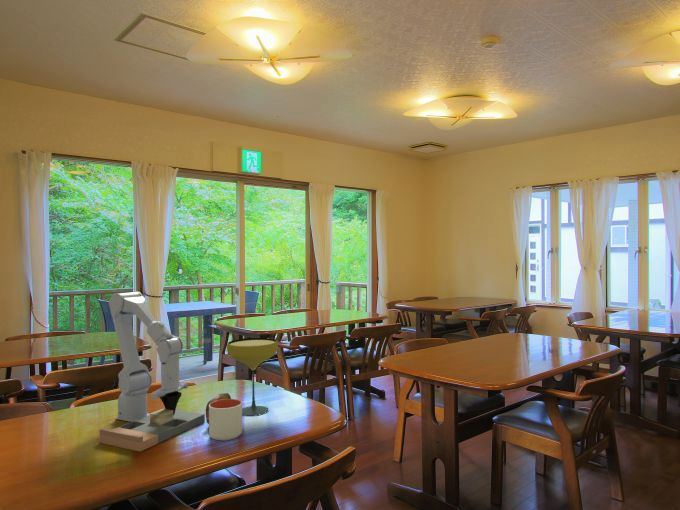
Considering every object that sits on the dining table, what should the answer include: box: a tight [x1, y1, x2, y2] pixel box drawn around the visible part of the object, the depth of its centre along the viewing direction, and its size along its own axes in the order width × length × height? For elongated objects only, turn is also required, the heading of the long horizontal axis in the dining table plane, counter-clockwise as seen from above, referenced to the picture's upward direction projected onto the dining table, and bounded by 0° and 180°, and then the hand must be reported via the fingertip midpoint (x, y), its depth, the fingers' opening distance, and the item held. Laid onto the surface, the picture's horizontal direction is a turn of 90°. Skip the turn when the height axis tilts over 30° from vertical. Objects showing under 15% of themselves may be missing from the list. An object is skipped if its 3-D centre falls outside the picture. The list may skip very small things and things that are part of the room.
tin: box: [205, 392, 232, 425], centre depth 160 cm, size 15×3×8 cm, turn 168°
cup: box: [208, 398, 243, 442], centre depth 146 cm, size 10×10×10 cm
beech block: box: [149, 408, 173, 425], centre depth 153 cm, size 4×6×3 cm
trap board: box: [99, 409, 206, 452], centre depth 151 cm, size 17×27×4 cm, turn 155°
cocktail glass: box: [226, 337, 279, 417], centre depth 170 cm, size 18×18×25 cm
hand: (170, 415), depth 157 cm, fingers closed
